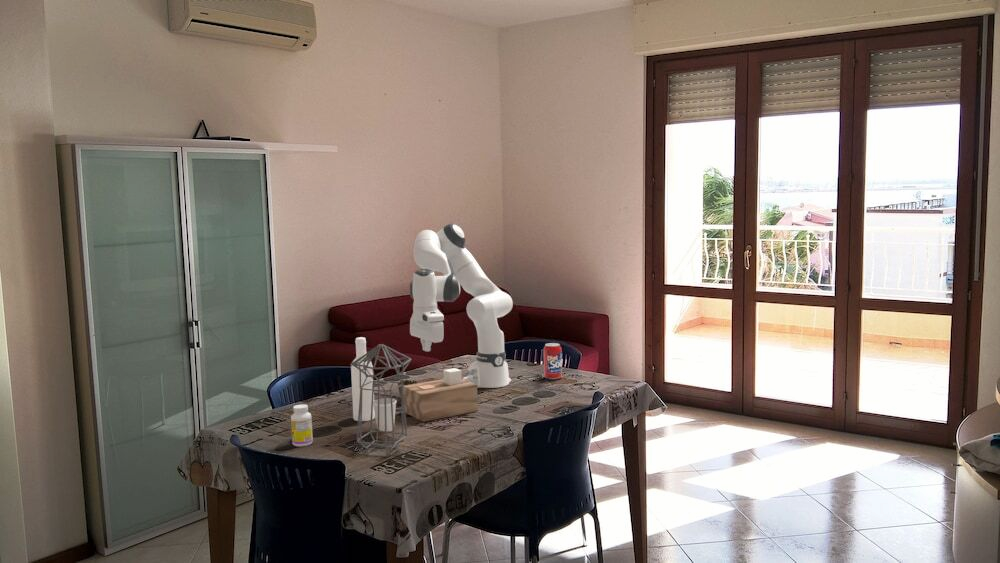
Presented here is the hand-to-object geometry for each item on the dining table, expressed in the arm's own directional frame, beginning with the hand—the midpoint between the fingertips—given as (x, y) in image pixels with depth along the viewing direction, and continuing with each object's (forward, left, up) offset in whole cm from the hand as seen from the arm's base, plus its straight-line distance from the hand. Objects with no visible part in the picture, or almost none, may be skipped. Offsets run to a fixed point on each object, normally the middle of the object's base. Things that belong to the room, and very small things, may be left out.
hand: (426, 350), depth 285 cm
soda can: (-16, +69, -24) cm, 75 cm away
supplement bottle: (+6, -50, -24) cm, 56 cm away
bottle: (-9, -22, -24) cm, 34 cm away
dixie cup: (+8, -21, -24) cm, 33 cm away
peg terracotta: (0, 0, -23) cm, 23 cm away
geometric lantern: (+30, -31, -24) cm, 49 cm away
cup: (-20, +1, -24) cm, 32 cm away
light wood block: (0, +5, -24) cm, 24 cm away
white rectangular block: (0, +11, -18) cm, 21 cm away
